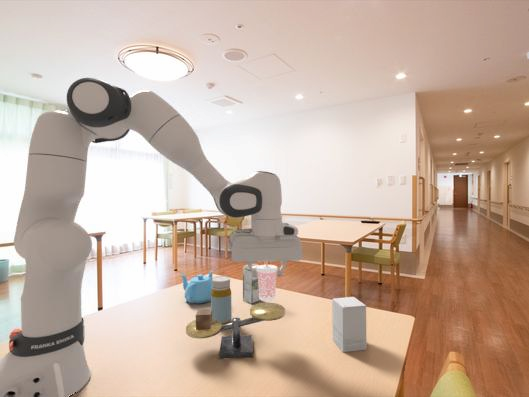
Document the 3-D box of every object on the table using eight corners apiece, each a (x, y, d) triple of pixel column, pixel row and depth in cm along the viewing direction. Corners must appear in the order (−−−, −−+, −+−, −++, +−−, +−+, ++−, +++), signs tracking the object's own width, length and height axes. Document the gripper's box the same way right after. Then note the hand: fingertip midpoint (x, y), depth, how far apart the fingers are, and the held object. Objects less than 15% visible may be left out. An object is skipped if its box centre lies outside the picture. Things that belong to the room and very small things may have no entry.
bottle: (227, 327, 92) (227, 282, 92) (207, 325, 94) (207, 281, 94) (234, 318, 99) (233, 276, 99) (215, 316, 101) (215, 275, 100)
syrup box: (253, 296, 120) (252, 263, 119) (262, 300, 115) (262, 265, 115) (242, 300, 116) (242, 265, 116) (251, 304, 111) (251, 268, 111)
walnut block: (195, 329, 76) (195, 315, 76) (198, 322, 80) (198, 309, 80) (210, 328, 77) (210, 314, 77) (212, 322, 81) (212, 308, 81)
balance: (182, 362, 73) (182, 321, 73) (189, 342, 83) (189, 305, 83) (287, 356, 76) (287, 316, 75) (282, 337, 86) (282, 301, 85)
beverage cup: (252, 299, 79) (251, 250, 79) (264, 292, 84) (264, 246, 84) (269, 304, 76) (269, 253, 76) (281, 297, 81) (281, 249, 80)
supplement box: (367, 350, 78) (367, 305, 78) (342, 352, 77) (342, 307, 77) (354, 336, 86) (354, 296, 85) (331, 339, 84) (331, 297, 84)
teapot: (184, 308, 108) (184, 282, 108) (180, 295, 122) (179, 272, 122) (221, 302, 114) (221, 277, 114) (213, 290, 128) (213, 268, 128)
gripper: (229, 230, 76) (230, 281, 76) (303, 229, 77) (304, 278, 78) (230, 227, 82) (231, 274, 82) (299, 226, 84) (299, 272, 84)
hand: (267, 276), depth 80 cm, fingers closed on beverage cup, 6 cm apart
